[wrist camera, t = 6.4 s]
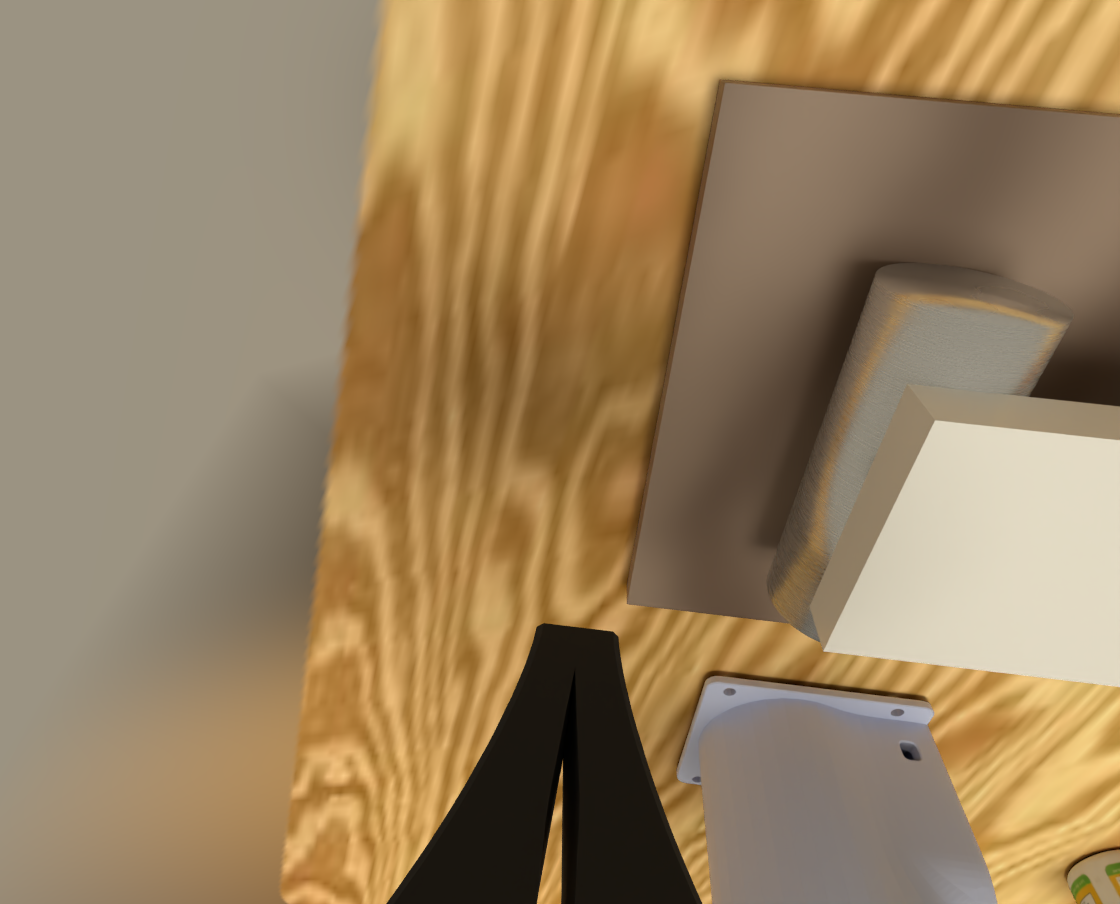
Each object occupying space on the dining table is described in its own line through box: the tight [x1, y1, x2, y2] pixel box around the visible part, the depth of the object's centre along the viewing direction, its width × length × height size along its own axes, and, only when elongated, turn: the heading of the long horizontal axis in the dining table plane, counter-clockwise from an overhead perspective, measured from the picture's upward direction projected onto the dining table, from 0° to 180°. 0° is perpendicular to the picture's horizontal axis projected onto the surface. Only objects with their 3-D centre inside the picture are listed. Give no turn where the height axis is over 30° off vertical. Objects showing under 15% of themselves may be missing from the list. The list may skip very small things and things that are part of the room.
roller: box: [766, 263, 1074, 642], centre depth 17 cm, size 4×10×4 cm
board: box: [627, 79, 1120, 623], centre depth 16 cm, size 22×17×7 cm
